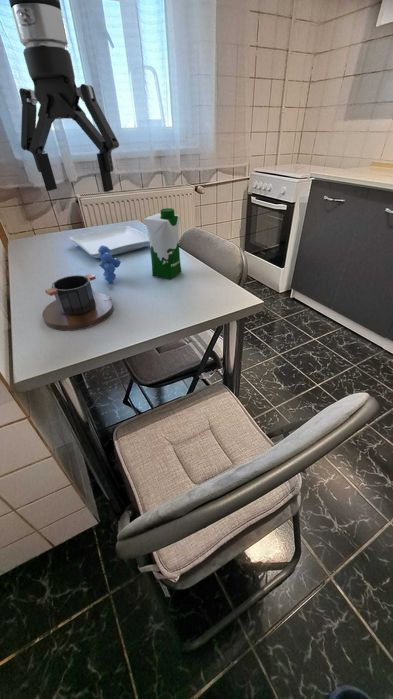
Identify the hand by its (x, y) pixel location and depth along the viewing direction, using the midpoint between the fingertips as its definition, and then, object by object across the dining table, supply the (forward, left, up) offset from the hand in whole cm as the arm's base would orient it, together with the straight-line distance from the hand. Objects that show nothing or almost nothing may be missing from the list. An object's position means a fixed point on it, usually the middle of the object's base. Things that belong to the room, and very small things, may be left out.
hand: (79, 190), depth 62 cm
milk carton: (+24, +13, -29) cm, 40 cm away
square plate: (+18, +52, -29) cm, 62 cm away
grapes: (+7, +17, -29) cm, 34 cm away
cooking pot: (-7, +3, -27) cm, 28 cm away
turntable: (-7, +3, -29) cm, 30 cm away
